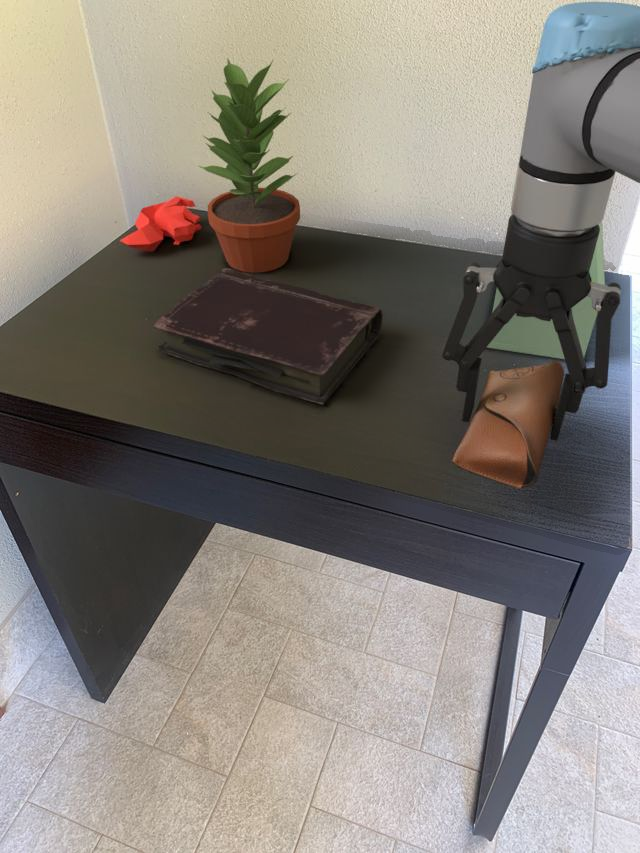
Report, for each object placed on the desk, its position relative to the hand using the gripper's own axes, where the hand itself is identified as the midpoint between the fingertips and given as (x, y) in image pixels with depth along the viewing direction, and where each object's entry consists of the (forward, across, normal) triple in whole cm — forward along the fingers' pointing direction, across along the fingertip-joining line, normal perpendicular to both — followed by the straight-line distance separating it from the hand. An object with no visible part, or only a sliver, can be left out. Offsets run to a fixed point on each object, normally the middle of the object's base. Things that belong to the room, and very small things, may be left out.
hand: (510, 422), depth 72 cm
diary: (+5, +33, -12) cm, 36 cm away
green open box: (+5, 0, -33) cm, 34 cm away
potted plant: (+5, +46, -35) cm, 57 cm away
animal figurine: (+5, +63, -35) cm, 72 cm away
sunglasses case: (+1, 0, 0) cm, 1 cm away
